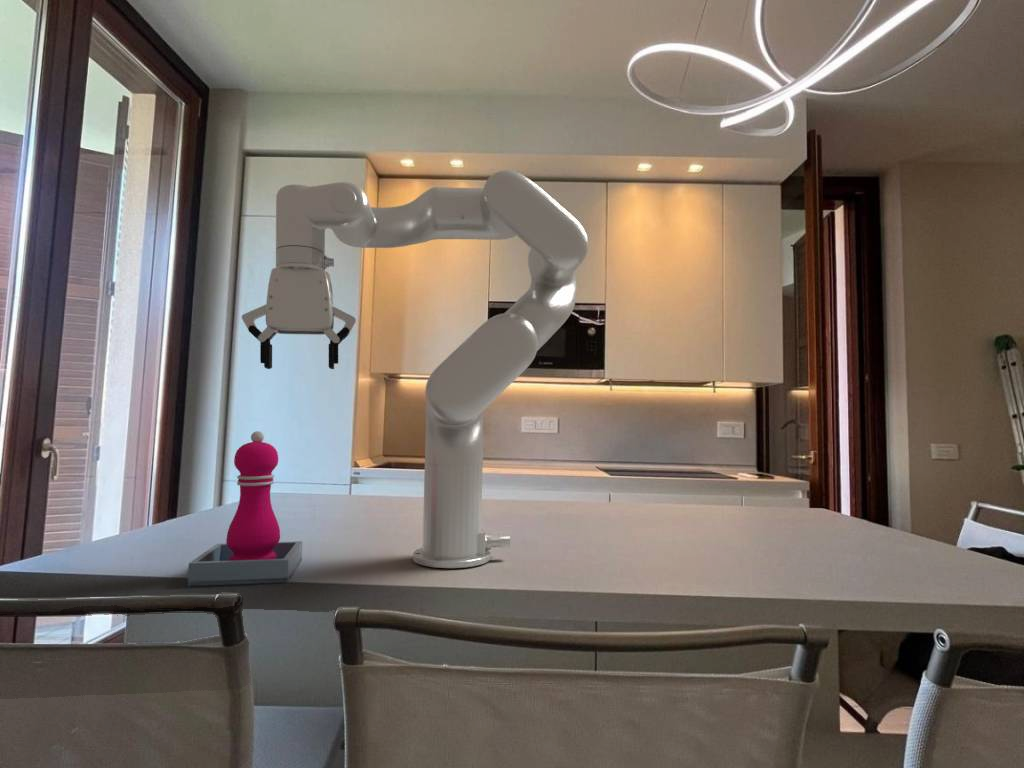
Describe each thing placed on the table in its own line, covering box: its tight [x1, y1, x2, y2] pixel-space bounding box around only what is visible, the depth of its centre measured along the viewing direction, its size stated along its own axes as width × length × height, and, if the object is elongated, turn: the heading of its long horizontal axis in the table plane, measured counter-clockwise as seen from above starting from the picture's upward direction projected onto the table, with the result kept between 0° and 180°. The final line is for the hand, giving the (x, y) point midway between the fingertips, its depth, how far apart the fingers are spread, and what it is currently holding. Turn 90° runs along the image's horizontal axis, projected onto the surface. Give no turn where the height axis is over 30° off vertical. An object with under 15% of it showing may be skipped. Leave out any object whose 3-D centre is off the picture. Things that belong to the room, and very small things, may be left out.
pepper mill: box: [225, 430, 281, 561], centre depth 84 cm, size 7×7×20 cm
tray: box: [187, 540, 303, 587], centre depth 83 cm, size 13×13×3 cm
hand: (300, 368), depth 91 cm, fingers open, 9 cm apart
